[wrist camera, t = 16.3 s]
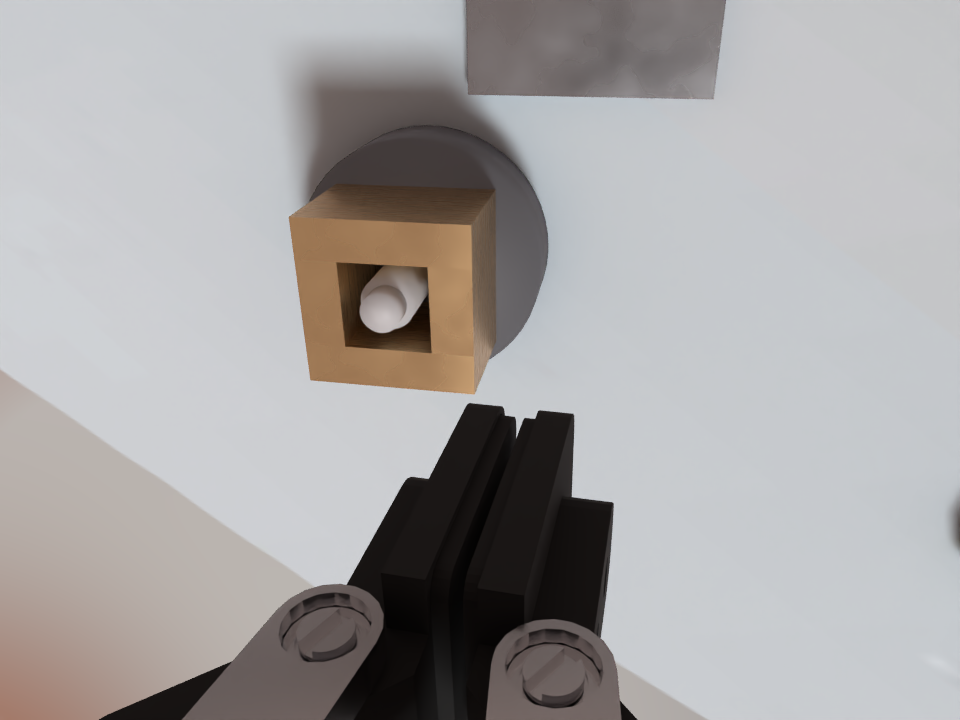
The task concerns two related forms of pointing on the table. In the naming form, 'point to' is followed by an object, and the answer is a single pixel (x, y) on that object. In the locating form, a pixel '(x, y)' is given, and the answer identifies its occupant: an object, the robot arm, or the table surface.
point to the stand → (594, 48)
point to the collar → (400, 242)
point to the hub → (452, 164)
